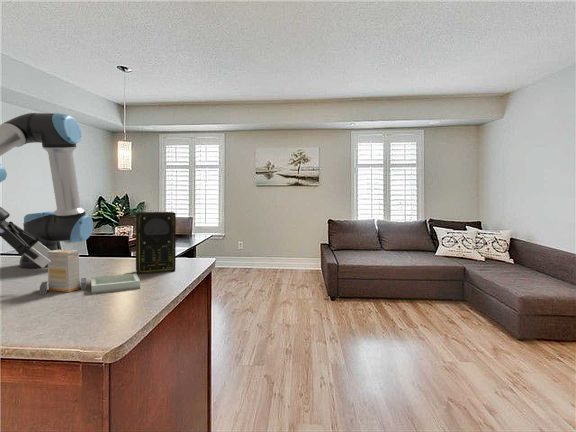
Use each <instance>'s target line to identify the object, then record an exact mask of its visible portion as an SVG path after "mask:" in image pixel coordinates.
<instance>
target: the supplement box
mask: <svg viewBox="0 0 576 432" xmlns="http://www.w3.org/2000/svg"><path fill="white" fill-rule="evenodd" d="M47 254H48V259H49V260H50V261H51V262H49V263H48V267H47V277H48V278H47V279H48V291H53V292H55V291H56V292H64V293H69V292H73V291H76V290H79V289H81V278H80V251H79V250H74V249H58V250H53V251H48V252H47Z"/></svg>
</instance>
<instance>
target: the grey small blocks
mask: <svg viewBox="0 0 576 432" xmlns="http://www.w3.org/2000/svg"><path fill="white" fill-rule="evenodd" d="M48 290H49V287H48V281H41V284H40V285H39V295H46V294H47V291H48ZM80 290H81V291H86V290H87V277H81V278H80Z"/></svg>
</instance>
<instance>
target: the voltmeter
mask: <svg viewBox="0 0 576 432" xmlns="http://www.w3.org/2000/svg"><path fill="white" fill-rule="evenodd" d="M176 214H177V213H175V212H174V211H136V212H135V213H134V216H135V217H134V226H135V271H136V274H137V275H148V274H159V273H167V272H168V273H170V272H175V271H176V256H177V255H176V253H177V252H176V244H177V243H176V242H177V241H176V239H177V238H176V228H177V227H176V217H177V216H176Z"/></svg>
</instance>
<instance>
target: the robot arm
mask: <svg viewBox="0 0 576 432" xmlns="http://www.w3.org/2000/svg"><path fill="white" fill-rule="evenodd" d="M80 127H81V126H80V125H79V123H78V121H77V120H76V119H75V118H74V117H73V116H72V115H69V114H67V113H59V112H57V113H56V112H55V113H51V112H50V113H49V112H48V113H46V112H45V113H41V112H39V113H38V112H29V113H24V114H20V115H19V116H15V117H14V118H11V119H9V120H6V121H5V122H3V123H2V124H1V123H0V157H1V156H3V155H4V154H6V153H7V152H9V151H11V150H12V149H13V148H20V147H22V146H23V147H24V145H26V144H32V143H41V146H42V149H43V150H45V151H46V152H47V155H48V161H49V168H50V173H51V179H52V180H51V181H52V186H53V193H54V199H55V204H56V209H55V211H44V212H43V211H42V212H34V213H33V212H32V213H27V214H25V215H24V217H23V224H22V225H23V228H21V227H19V226H18V225H17V224H15V223H14V222H13V221H6V220H7V219H8V218H9V217H10V215H11V214H10V213H9V212H8V211H7V210H5V208H2V206H0V237H1V238H2V239H3V240H4V241H5V242H6V243H7V244H8V245H9V246H10V247H11V248H12V249H14V250H15V251H16V252H17V255H19V256H21V257H20V259H19V262H18V263H19V267H20V268H25V269H37V268H42V269H44V268H48V263H49V262H51V261H50V260H49V259H48V254H47V252H48V251H53V250H59V248H58V242H70V243H78V242H82V243H83V242H85V241H86V240H88V239H89V238H90V236H91V234H92V232H93V228H94V222H93V219H92V217H91V216H90V215H88V214H87V215H86V209H84V208H83V207H82V206H81V201H80V200H81V199H80V192H79V187H78V180H77V173H76V165H75V159H74V157H75V156H74V151H75V150H76V148H77V144H78V143H80V142H81V139H82V131H81V128H80ZM7 178H8V173H7V170H6V168H5V167H4V165H3V164H1V163H0V183H2V182H3V181H5V180H6V179H7Z"/></svg>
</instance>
